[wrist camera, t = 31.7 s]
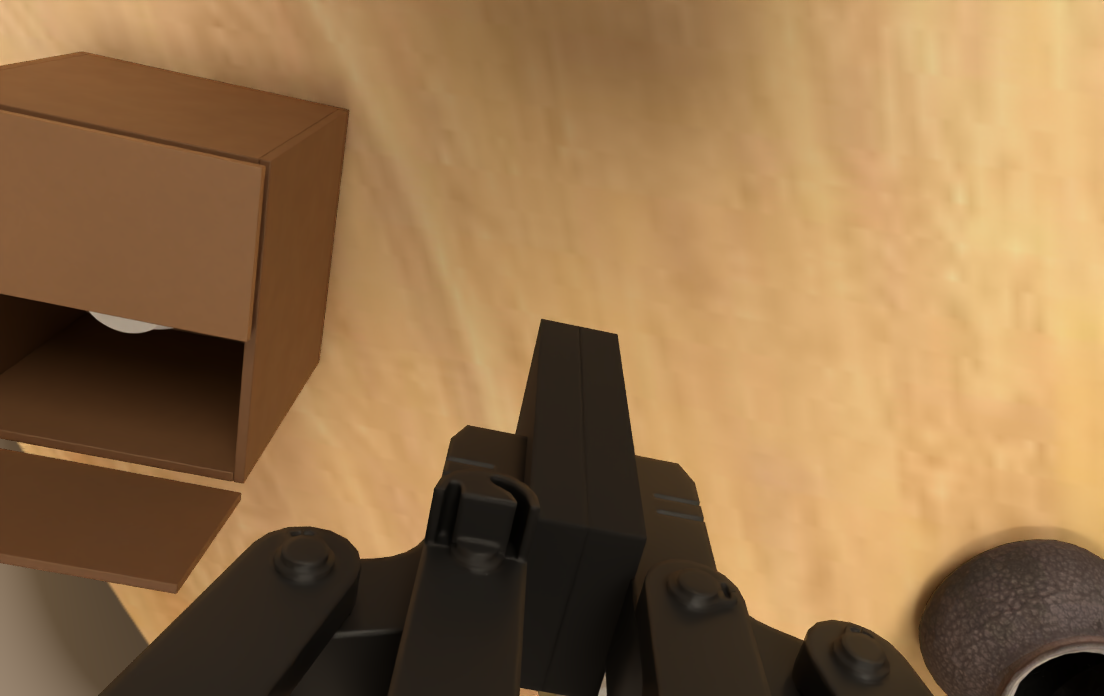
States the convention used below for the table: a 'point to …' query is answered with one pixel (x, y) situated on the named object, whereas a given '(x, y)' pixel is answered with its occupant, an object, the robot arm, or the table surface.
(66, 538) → the carton
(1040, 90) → the table surface
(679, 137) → the table surface
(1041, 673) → the teapot
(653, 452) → the table surface
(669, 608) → the robot arm
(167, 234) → the flap
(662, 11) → the table surface
